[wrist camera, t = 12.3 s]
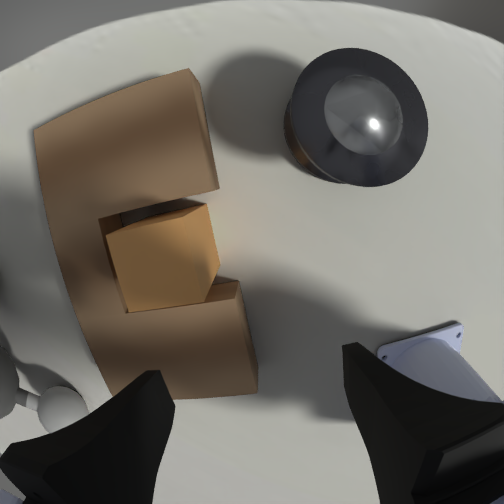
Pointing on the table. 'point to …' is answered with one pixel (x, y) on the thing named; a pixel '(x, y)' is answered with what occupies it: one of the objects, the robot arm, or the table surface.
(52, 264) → the table surface
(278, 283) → the table surface
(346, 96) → the bobbin
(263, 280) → the table surface
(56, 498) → the robot arm
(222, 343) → the notched board
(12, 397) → the molecule model
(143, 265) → the orange rectangular block
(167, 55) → the table surface
